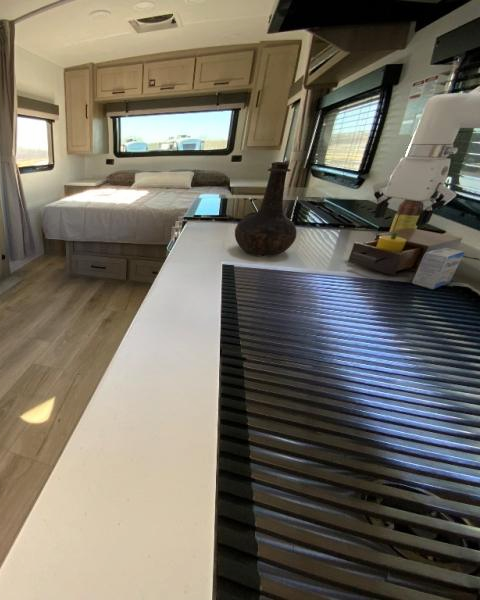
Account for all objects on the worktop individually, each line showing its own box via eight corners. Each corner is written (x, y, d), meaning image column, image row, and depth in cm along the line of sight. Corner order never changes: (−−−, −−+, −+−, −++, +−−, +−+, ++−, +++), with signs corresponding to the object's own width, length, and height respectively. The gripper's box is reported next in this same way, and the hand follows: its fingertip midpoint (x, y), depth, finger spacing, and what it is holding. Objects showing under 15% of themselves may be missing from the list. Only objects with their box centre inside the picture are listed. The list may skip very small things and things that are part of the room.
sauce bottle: (414, 248, 108) (442, 184, 99) (394, 248, 109) (420, 185, 100) (397, 242, 114) (422, 181, 105) (379, 242, 114) (402, 182, 105)
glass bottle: (260, 241, 120) (278, 158, 108) (304, 256, 105) (331, 162, 93) (220, 248, 116) (233, 162, 103) (259, 265, 101) (281, 166, 88)
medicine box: (432, 290, 82) (449, 257, 78) (410, 283, 85) (425, 251, 81) (449, 283, 84) (466, 251, 80) (427, 277, 88) (442, 246, 84)
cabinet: (416, 272, 91) (428, 246, 88) (367, 258, 102) (376, 234, 98) (449, 263, 96) (462, 237, 93) (399, 250, 107) (409, 227, 103)
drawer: (381, 277, 87) (389, 257, 84) (337, 264, 97) (344, 244, 94) (424, 266, 93) (434, 246, 90) (379, 254, 102) (386, 235, 100)
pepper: (401, 262, 93) (413, 233, 89) (388, 265, 91) (400, 236, 88) (379, 256, 98) (390, 229, 94) (366, 259, 96) (377, 231, 92)
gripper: (484, 153, 75) (447, 227, 83) (396, 150, 90) (372, 213, 98) (465, 154, 73) (429, 230, 81) (378, 151, 88) (355, 216, 95)
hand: (398, 221), depth 89 cm, fingers open, 9 cm apart
